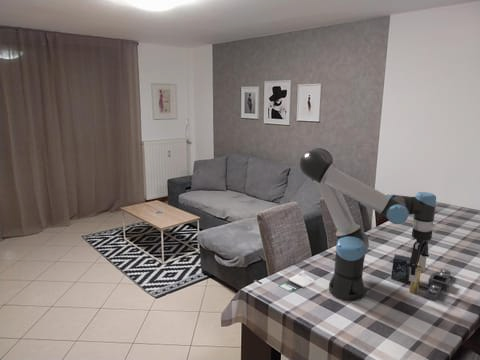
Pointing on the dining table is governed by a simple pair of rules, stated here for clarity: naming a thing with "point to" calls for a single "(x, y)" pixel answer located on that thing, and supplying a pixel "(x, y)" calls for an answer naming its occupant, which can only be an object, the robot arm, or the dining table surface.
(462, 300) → the dining table surface
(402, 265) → the box
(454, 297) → the dining table surface
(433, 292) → the studded dark bracket
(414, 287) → the pin
